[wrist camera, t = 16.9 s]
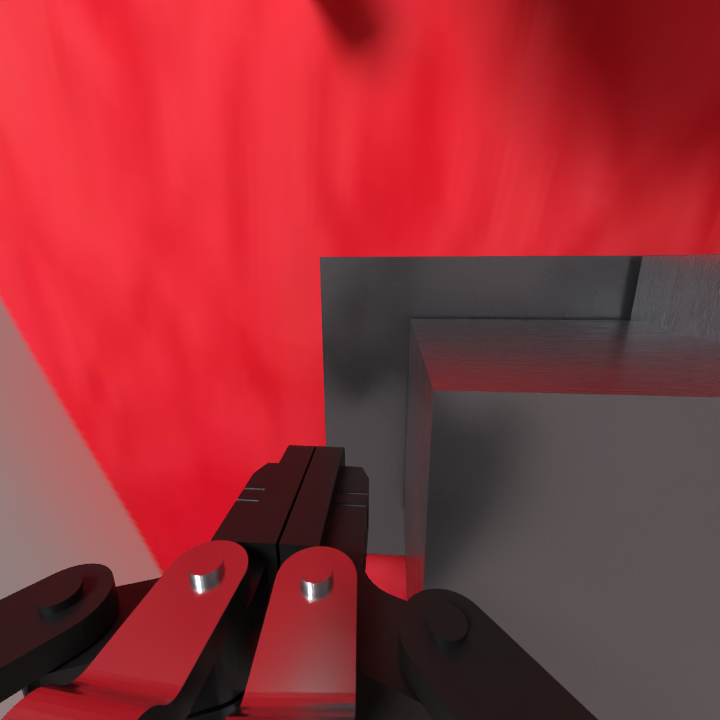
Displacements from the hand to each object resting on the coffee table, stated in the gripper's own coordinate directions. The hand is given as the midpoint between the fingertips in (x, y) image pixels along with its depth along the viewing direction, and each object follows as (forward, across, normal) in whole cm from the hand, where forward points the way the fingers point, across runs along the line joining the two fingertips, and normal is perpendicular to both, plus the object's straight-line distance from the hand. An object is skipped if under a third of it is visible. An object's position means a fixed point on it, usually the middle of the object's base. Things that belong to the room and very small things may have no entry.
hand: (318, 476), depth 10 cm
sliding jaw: (+4, -8, 0) cm, 8 cm away
